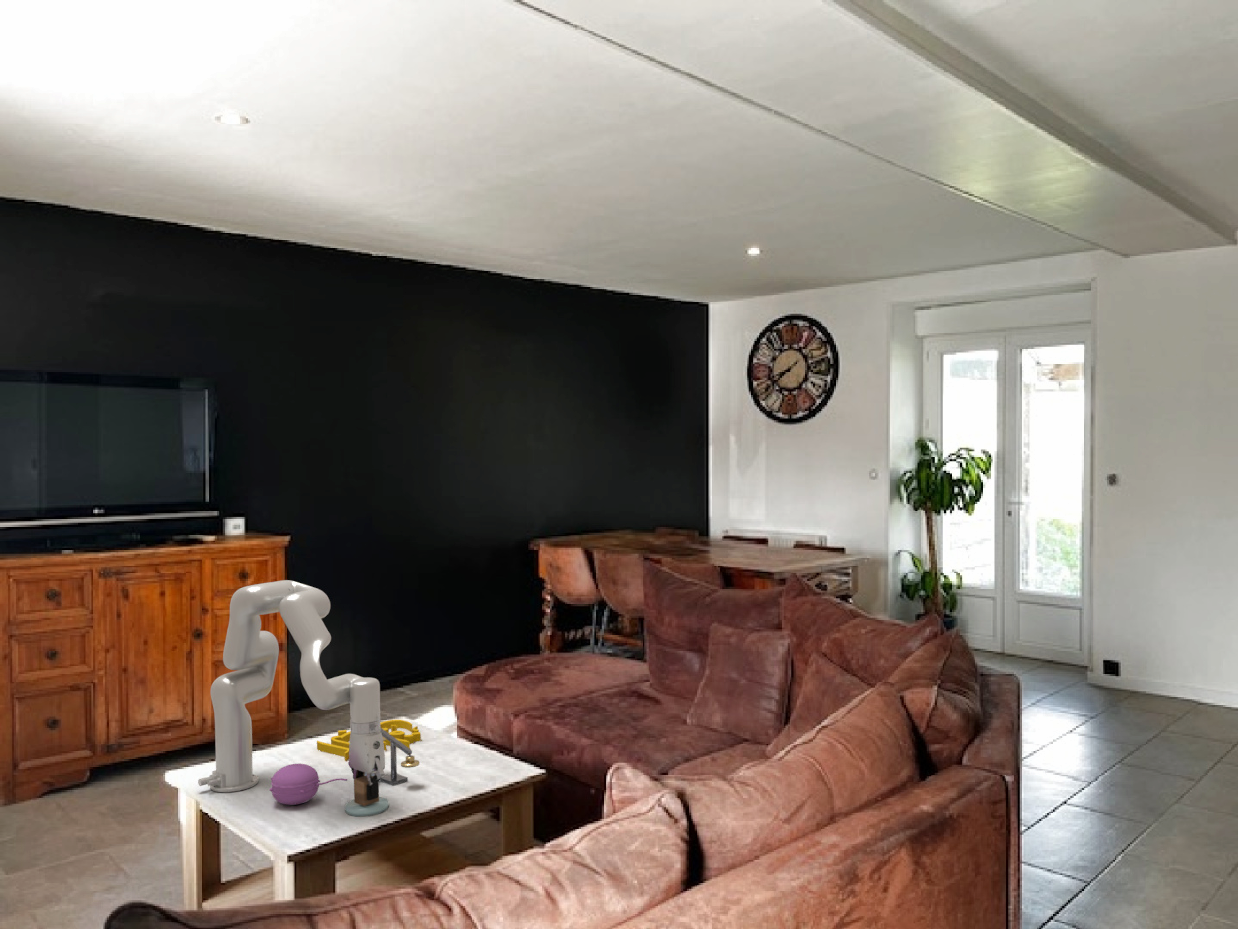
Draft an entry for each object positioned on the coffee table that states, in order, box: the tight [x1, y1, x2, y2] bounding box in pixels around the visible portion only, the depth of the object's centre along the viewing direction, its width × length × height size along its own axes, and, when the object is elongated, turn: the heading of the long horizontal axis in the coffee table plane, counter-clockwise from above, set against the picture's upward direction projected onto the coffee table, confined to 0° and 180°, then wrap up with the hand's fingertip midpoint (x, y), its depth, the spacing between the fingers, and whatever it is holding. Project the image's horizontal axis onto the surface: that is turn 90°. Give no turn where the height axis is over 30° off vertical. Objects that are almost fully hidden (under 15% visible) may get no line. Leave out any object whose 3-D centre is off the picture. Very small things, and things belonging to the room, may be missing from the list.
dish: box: [344, 796, 390, 817], centre depth 243 cm, size 11×11×1 cm
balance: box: [380, 727, 420, 787], centre depth 263 cm, size 5×20×14 cm, turn 49°
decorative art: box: [316, 719, 422, 762], centre depth 300 cm, size 34×3×30 cm
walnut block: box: [353, 775, 380, 806], centre depth 243 cm, size 4×4×6 cm
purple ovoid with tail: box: [269, 763, 348, 806], centre depth 247 cm, size 12×19×10 cm, turn 77°
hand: (366, 795), depth 243 cm, fingers open, 4 cm apart
